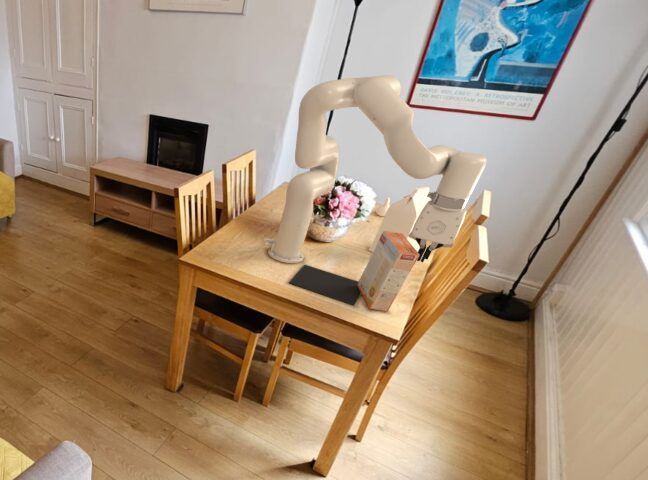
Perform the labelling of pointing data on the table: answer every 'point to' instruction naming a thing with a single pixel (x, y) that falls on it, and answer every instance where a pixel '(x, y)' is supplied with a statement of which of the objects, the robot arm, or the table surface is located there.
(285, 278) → the table surface
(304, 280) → the mat
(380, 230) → the milk
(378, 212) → the garlic bulb
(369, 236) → the table surface
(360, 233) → the table surface
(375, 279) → the cracker box
